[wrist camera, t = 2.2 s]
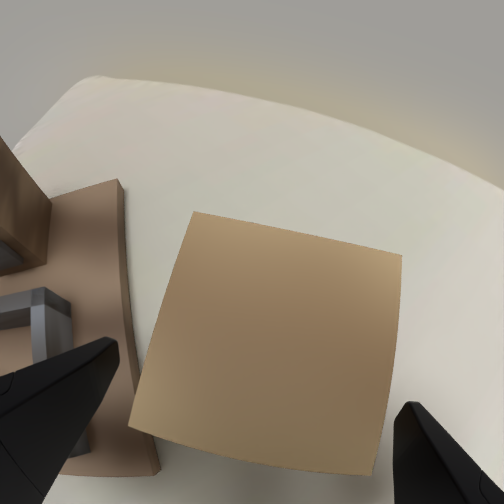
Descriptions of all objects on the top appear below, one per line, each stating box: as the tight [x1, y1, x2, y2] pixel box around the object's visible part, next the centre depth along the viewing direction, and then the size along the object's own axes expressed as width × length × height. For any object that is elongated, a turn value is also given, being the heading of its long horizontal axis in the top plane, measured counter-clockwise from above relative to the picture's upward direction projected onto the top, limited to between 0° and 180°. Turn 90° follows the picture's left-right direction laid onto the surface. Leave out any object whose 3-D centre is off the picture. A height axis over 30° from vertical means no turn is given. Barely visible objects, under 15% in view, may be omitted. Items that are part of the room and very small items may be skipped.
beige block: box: [128, 212, 402, 476], centre depth 11 cm, size 5×4×13 cm
